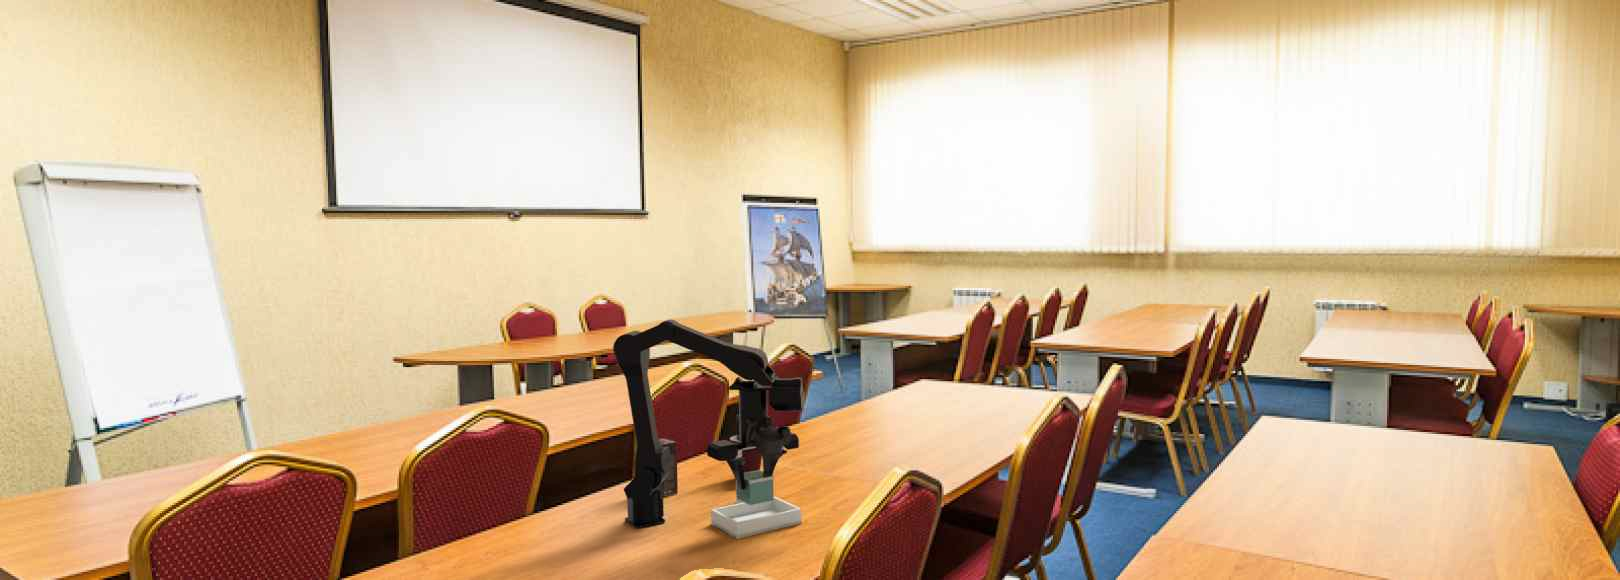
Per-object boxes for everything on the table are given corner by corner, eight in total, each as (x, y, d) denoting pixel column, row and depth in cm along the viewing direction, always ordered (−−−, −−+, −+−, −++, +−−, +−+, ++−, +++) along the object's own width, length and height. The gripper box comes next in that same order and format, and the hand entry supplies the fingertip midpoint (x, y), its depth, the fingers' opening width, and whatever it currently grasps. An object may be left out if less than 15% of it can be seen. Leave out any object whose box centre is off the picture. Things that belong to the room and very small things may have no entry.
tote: (737, 538, 172) (736, 523, 172) (711, 523, 181) (710, 509, 181) (801, 523, 180) (801, 508, 180) (773, 509, 189) (773, 496, 189)
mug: (756, 487, 207) (755, 444, 206) (723, 485, 208) (722, 444, 207) (767, 474, 217) (766, 434, 216) (735, 473, 218) (734, 433, 218)
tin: (736, 498, 181) (735, 474, 181) (760, 493, 184) (759, 469, 184) (749, 505, 176) (749, 480, 176) (774, 500, 180) (773, 476, 179)
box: (679, 493, 203) (677, 441, 202) (662, 497, 200) (660, 444, 199) (666, 487, 208) (664, 437, 207) (648, 491, 205) (647, 440, 204)
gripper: (731, 424, 167) (733, 505, 168) (813, 411, 178) (814, 488, 179) (705, 414, 177) (706, 491, 178) (784, 403, 187) (785, 475, 188)
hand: (754, 486), depth 180 cm, fingers closed on tin, 6 cm apart
